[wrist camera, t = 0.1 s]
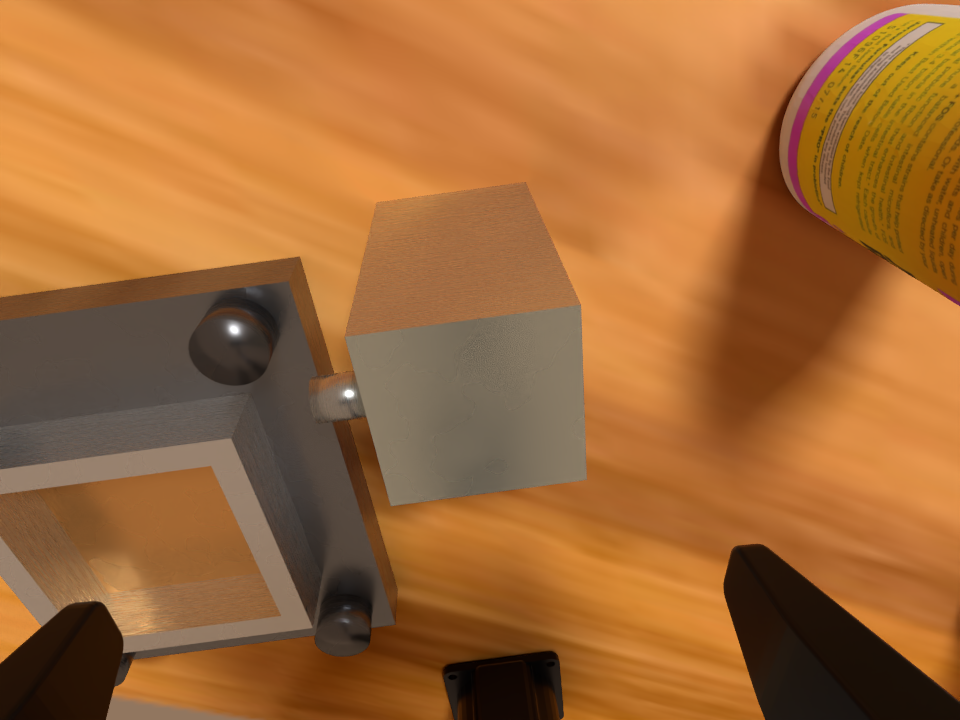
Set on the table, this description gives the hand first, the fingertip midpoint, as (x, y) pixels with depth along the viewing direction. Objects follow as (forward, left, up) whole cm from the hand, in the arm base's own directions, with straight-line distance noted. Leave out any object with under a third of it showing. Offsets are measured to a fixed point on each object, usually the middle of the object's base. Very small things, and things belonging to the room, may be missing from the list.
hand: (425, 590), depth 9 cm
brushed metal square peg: (-1, -1, -15) cm, 15 cm away
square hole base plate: (-9, +12, -14) cm, 21 cm away
